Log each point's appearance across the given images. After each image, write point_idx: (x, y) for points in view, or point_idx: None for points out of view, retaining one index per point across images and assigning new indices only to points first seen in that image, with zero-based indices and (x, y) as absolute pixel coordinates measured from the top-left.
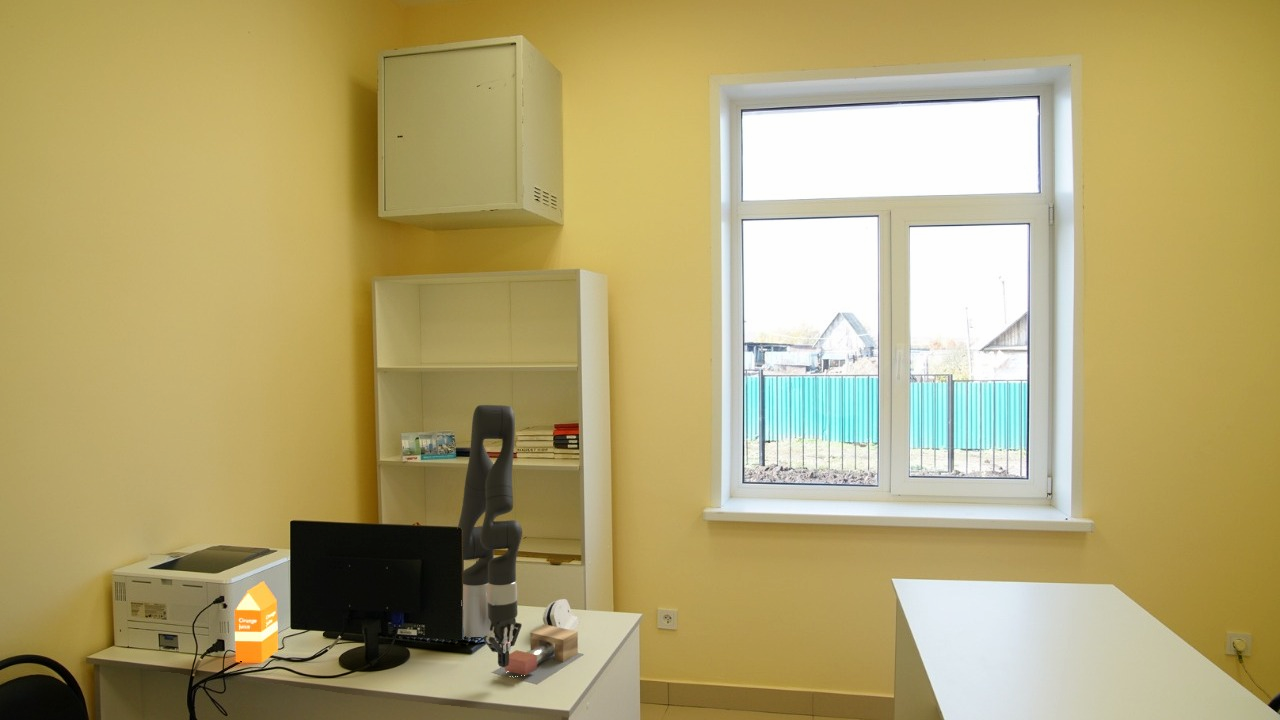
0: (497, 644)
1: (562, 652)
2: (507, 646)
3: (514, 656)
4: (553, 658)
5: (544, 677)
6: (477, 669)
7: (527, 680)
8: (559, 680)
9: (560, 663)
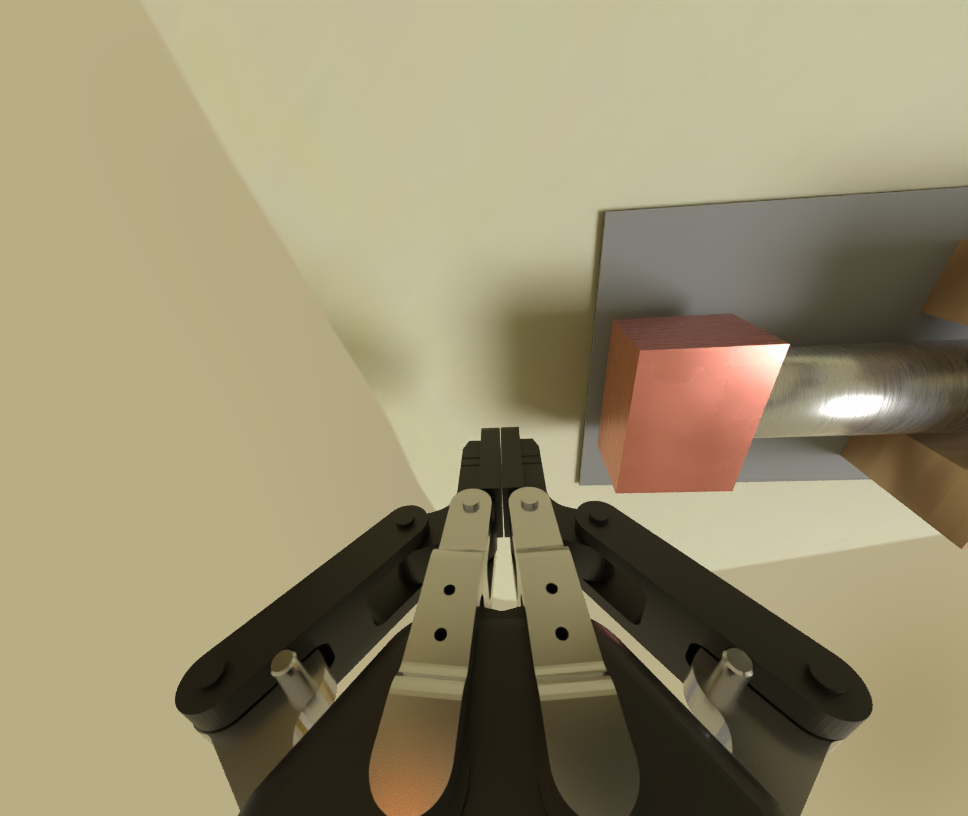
0: (364, 644)
1: (886, 484)
2: (513, 575)
3: (668, 403)
4: None
5: None
6: (621, 48)
7: (594, 439)
8: (652, 519)
9: (826, 450)
